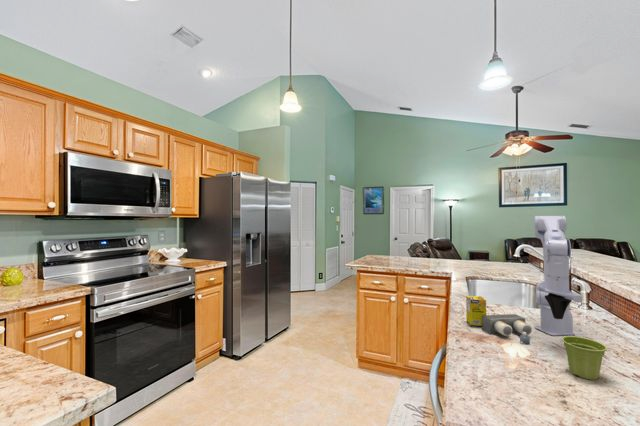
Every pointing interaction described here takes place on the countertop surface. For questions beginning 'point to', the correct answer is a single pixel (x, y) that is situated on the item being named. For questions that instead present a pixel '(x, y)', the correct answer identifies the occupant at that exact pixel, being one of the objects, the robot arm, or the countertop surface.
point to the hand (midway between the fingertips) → (558, 318)
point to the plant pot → (584, 356)
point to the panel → (490, 320)
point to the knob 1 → (503, 328)
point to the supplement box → (475, 310)
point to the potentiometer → (524, 339)
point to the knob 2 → (522, 327)
